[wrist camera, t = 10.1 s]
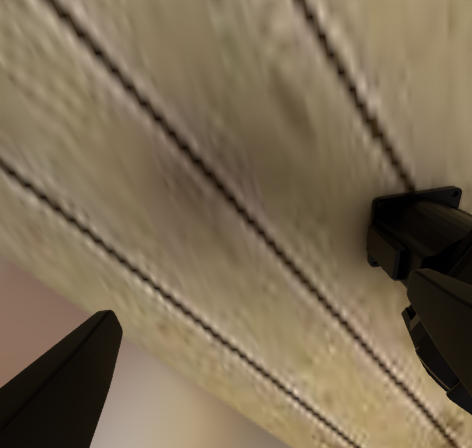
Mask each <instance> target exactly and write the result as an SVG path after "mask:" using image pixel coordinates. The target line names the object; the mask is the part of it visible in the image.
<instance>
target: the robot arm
mask: <svg viewBox="0 0 472 448" xmlns="http://www.w3.org/2000/svg"><path fill="white" fill-rule="evenodd" d="M453 192H454V194H453V195H452V193H453ZM461 195H462V190H461V189H460V188H458V187H455V186H451V187H445V188H438V189H431V190H425V191H418V192H411V193H405V194H398V195H391V196H384V197H379V198H376V199H375V200H374V201H373V204H372V214H371V223H370V225H369V226H368V238H367V251H368V263H369V264H370V265H371V266H372V267H379V266H381V267H382V268H383V270H384V271H385V272H386V273H387V274H388V275H389V276H390V278H391V279H393V280H394V281H398V280H399V281H400V282H401V283H402V284H403V285H404V286H405V287H406V288H407V297H408V299H409V301H410V303H411V305H410V306H409V307H406V308H405V309H404V311H403V312H402V313H401V314H402V316H403V319H404V321H405V324H406V326H407V329H408V331H409V334H410V336H411V339H412V341H413V344H414V347H415V351H416V354H417V356H418V358H419V359H420V361H421V363H422V365H423V367H424V368H425V369H426V371H427V373H428V374H429V375H430V376H431V377H432V378H433V379H434V380H435V382H436V383H437V384H438V385H440V386H441V387H442V388H443V389H444V390H445V391H446V392H447V393H446V395H447V397H448V398H449V399H450V400H451V401H453V402H454V403H456V404H457V405H458V406H460V407H461V408H463V409H464V410H465V411H467V412H468V413H470V414H471V415H472V215H471V214H469V213H467V212H465V211H463V210H461V209H459V208H458V207H459V203H460V199H461ZM380 202H382V204H381V205H380V206H378V204H379V203H380ZM374 260H376V261H375V262H373V261H374ZM122 334H123V331H122V327H121V325H120V323H119V321H118V319H117V317H116V315H115V313H114V312H113V311H112V310H104V311H98V312H96V313H95V314H94V315H93V316H91V317H90V318H89V319H87V320H86V321H85V322H84V323H82V324H81V325H80V326H79V327H77V328H76V329H75V330H73V331H72V332H71V333H70V334H68V335H67V336H66V337H65V338H63V339H62V340H61V341H60V342H58V343H57V344H56V345H54V346H53V347H52V348H51V349H49V350H48V351H47V352H46V353H44V354H43V355H42V356H41V357H39V358H38V359H37V360H36V361H34V362H33V363H32V364H30V365H29V366H28V367H27V368H25V369H24V370H23V371H21V372H20V373H19V374H18V375H16V376H15V377H14V378H13V379H11V380H10V381H9V382H8V383H6V384H5V385H4V386H2V387H1V388H0V448H89V447H90V444H91V441H92V438H93V436H94V433H95V430H96V427H97V424H98V421H99V418H100V415H101V412H102V409H103V406H104V403H105V400H106V397H107V394H108V391H109V388H110V384H111V381H112V377H113V373H114V369H115V364H116V360H117V356H118V352H119V348H120V344H121V339H122Z"/></svg>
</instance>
